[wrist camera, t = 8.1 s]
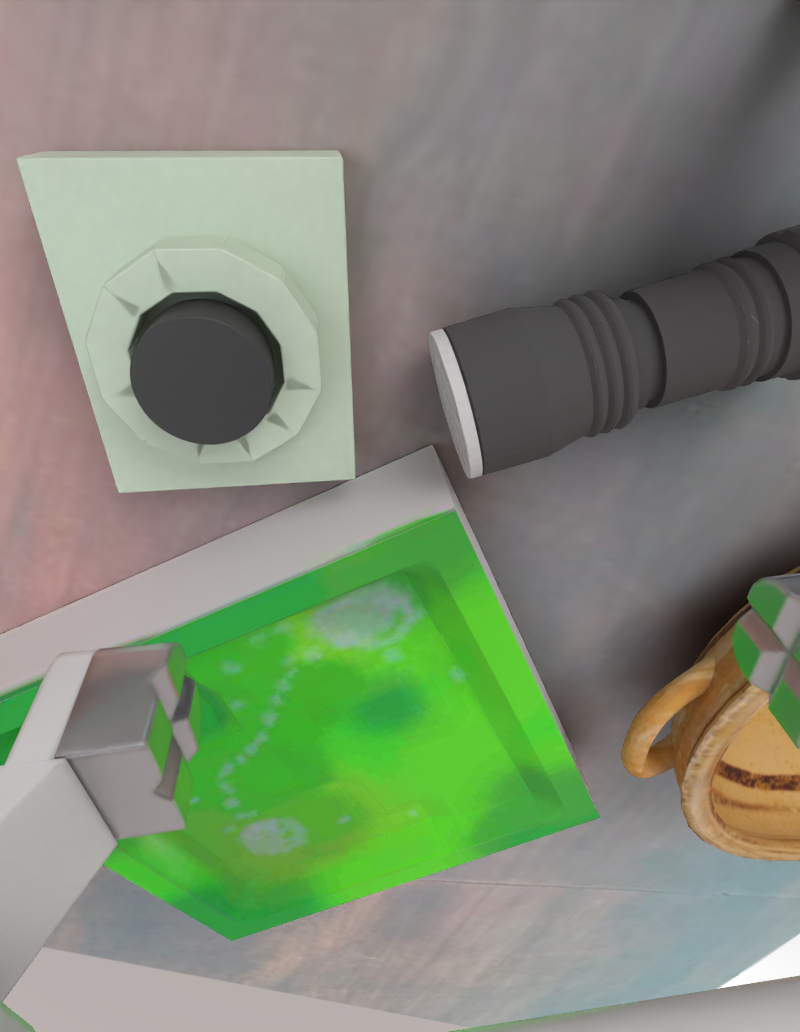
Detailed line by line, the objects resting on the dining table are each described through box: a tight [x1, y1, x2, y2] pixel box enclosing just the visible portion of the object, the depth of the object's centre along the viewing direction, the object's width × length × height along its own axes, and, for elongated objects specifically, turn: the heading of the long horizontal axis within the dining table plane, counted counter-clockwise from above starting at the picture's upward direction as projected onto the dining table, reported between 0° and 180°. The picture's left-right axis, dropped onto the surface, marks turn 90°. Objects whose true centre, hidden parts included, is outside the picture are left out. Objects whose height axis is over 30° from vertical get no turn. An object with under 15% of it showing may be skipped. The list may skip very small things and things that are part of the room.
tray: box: [0, 444, 600, 941], centre depth 33 cm, size 25×25×5 cm
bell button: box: [130, 299, 275, 445], centre depth 19 cm, size 4×4×2 cm
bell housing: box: [16, 150, 356, 493], centre depth 21 cm, size 11×9×4 cm
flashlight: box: [428, 225, 800, 479], centre depth 22 cm, size 15×5×5 cm, turn 105°
